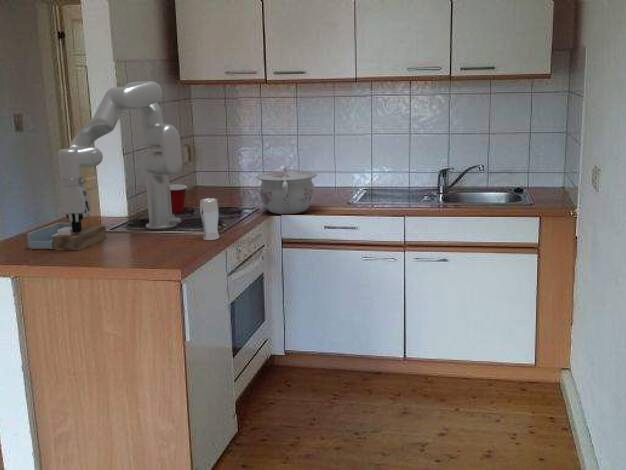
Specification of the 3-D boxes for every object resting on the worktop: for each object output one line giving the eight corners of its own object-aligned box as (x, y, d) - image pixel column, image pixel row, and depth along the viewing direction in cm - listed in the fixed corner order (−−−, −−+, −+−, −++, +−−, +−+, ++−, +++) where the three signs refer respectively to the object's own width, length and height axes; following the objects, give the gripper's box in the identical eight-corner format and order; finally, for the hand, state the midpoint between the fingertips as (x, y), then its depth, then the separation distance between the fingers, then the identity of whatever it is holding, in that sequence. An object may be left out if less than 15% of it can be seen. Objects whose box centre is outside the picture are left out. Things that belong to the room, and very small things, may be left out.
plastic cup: (171, 214, 317) (169, 188, 314) (161, 211, 325) (159, 186, 322) (193, 211, 323) (191, 185, 320) (182, 208, 331) (180, 183, 329)
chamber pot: (285, 204, 332) (283, 161, 328) (330, 209, 315) (329, 164, 310) (243, 214, 311) (241, 168, 307) (289, 220, 294) (288, 172, 290)
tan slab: (106, 238, 271) (105, 226, 270) (77, 250, 253) (76, 237, 251) (83, 237, 274) (82, 225, 273) (53, 250, 255) (52, 236, 254)
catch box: (82, 237, 274) (81, 223, 273) (52, 250, 255) (50, 234, 254) (60, 237, 276) (58, 222, 275) (28, 249, 258) (26, 233, 256)
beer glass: (211, 235, 270) (209, 197, 267) (224, 237, 266) (221, 199, 263) (198, 239, 265) (195, 200, 262) (210, 241, 261) (208, 201, 258)
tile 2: (77, 232, 260) (76, 227, 260) (69, 235, 255) (69, 230, 255) (65, 232, 261) (64, 226, 261) (57, 235, 256) (57, 229, 256)
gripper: (95, 181, 255) (100, 230, 259) (59, 181, 258) (65, 229, 262) (84, 184, 248) (89, 234, 252) (47, 184, 251) (53, 233, 255)
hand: (77, 231), depth 257 cm, fingers closed
